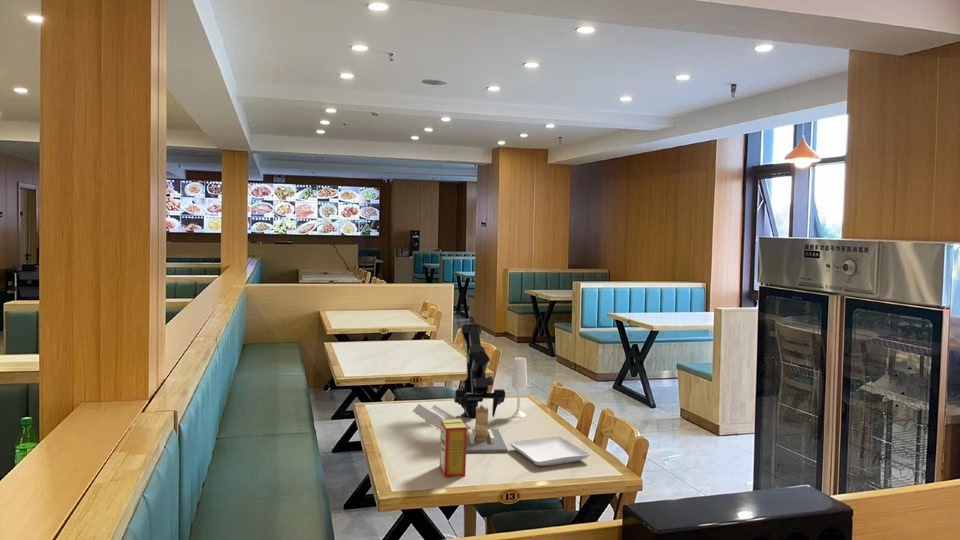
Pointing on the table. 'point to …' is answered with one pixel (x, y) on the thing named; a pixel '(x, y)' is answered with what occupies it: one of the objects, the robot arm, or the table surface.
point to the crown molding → (433, 415)
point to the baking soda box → (453, 447)
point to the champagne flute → (519, 382)
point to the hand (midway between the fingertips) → (481, 416)
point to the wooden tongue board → (481, 423)
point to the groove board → (485, 442)
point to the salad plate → (549, 450)
